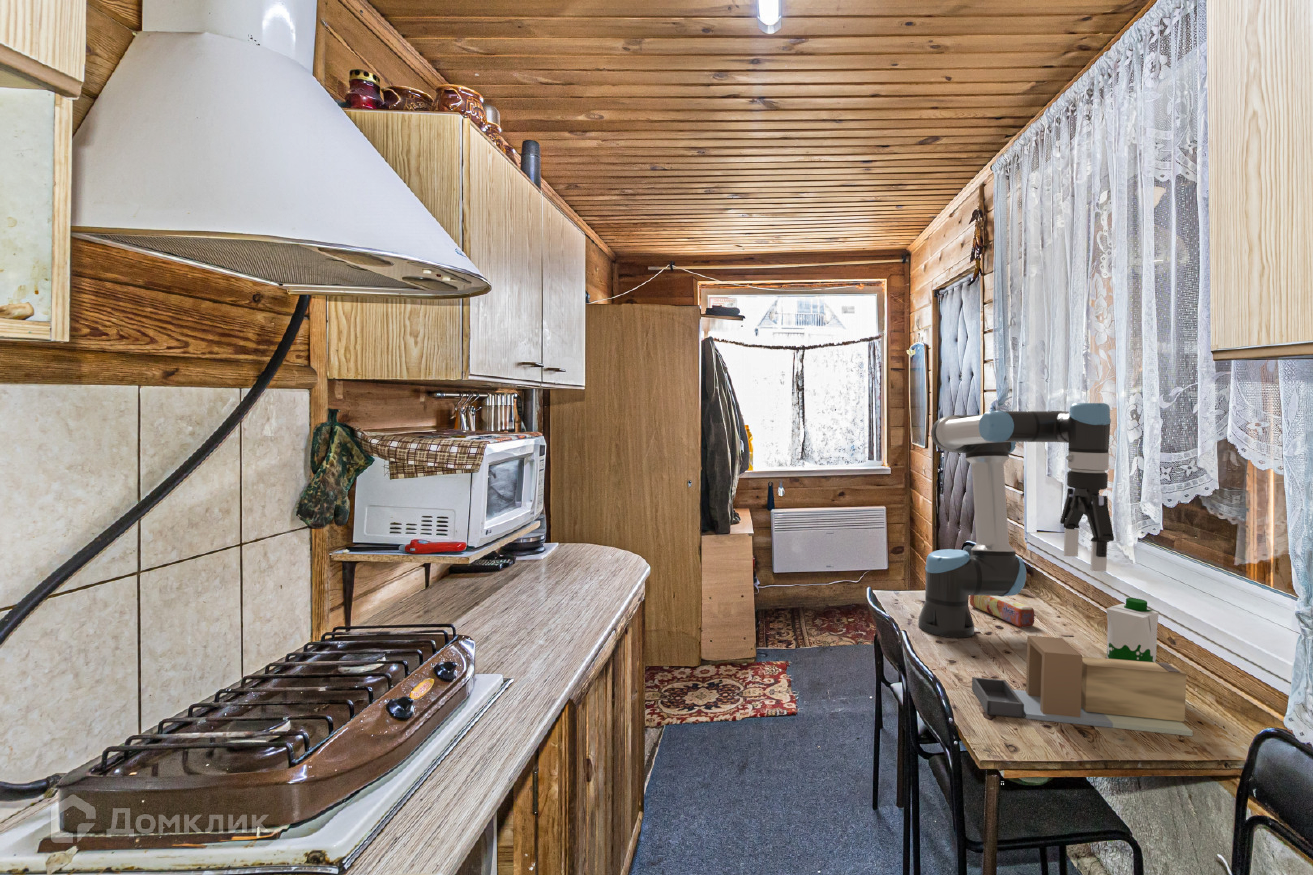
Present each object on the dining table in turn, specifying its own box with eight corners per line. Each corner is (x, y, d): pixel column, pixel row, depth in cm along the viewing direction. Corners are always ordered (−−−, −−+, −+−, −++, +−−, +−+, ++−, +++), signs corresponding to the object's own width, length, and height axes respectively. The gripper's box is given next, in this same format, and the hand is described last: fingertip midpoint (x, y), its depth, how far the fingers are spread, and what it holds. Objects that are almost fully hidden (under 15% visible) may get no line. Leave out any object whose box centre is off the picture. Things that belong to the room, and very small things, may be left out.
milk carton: (1160, 687, 144) (1163, 603, 143) (1141, 696, 140) (1145, 609, 139) (1117, 673, 152) (1120, 594, 151) (1098, 681, 147) (1101, 599, 146)
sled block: (1075, 700, 134) (1076, 654, 134) (1170, 709, 130) (1172, 662, 130) (1085, 711, 130) (1087, 664, 129) (1184, 721, 125) (1186, 672, 125)
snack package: (1036, 627, 185) (1037, 605, 185) (1018, 629, 183) (1018, 606, 183) (984, 605, 206) (985, 585, 205) (967, 607, 204) (968, 587, 204)
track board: (1007, 693, 141) (1009, 632, 140) (1158, 707, 134) (1160, 644, 133) (1026, 718, 129) (1028, 652, 128) (1192, 736, 122) (1195, 666, 122)
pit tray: (971, 689, 142) (972, 677, 142) (1004, 692, 141) (1005, 680, 141) (987, 714, 131) (987, 700, 131) (1023, 718, 129) (1024, 704, 129)
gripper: (1046, 465, 152) (1043, 549, 153) (1095, 476, 127) (1091, 576, 128) (1080, 466, 150) (1077, 551, 151) (1136, 477, 126) (1132, 579, 127)
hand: (1083, 563), depth 140 cm, fingers open, 13 cm apart
